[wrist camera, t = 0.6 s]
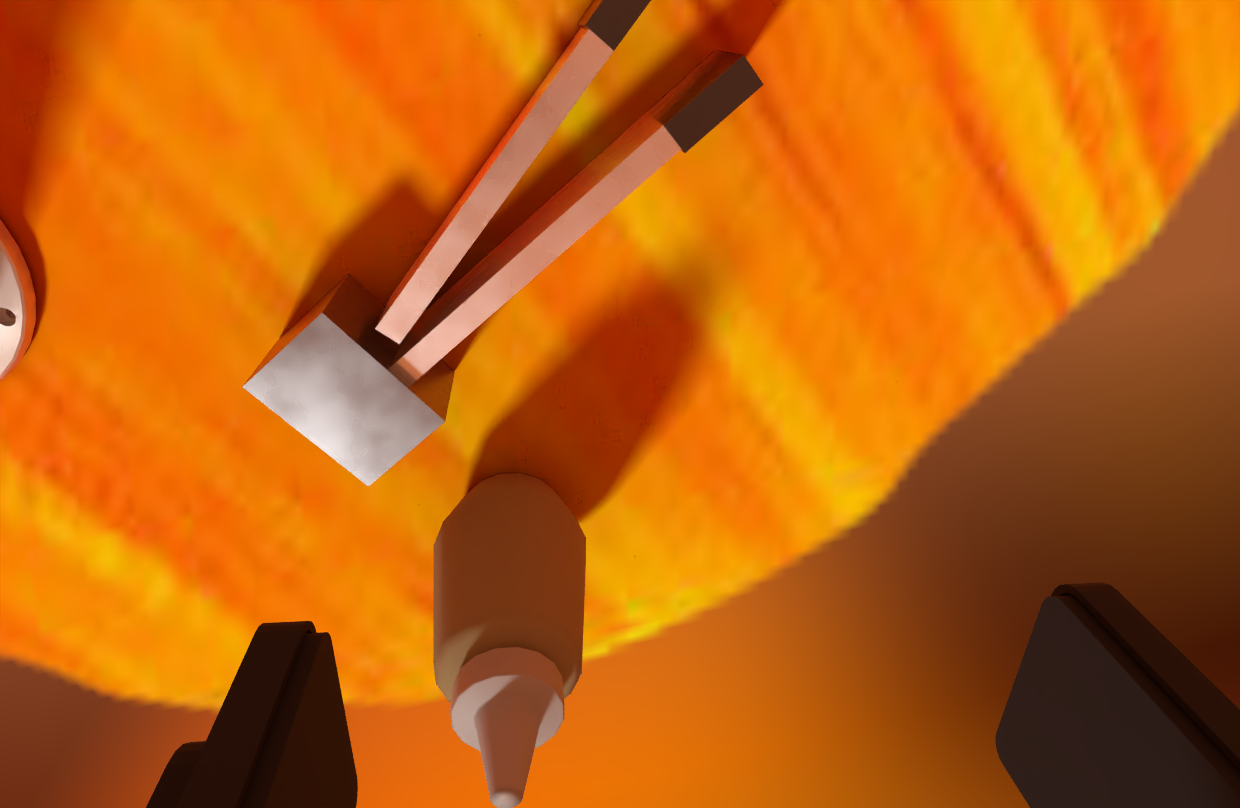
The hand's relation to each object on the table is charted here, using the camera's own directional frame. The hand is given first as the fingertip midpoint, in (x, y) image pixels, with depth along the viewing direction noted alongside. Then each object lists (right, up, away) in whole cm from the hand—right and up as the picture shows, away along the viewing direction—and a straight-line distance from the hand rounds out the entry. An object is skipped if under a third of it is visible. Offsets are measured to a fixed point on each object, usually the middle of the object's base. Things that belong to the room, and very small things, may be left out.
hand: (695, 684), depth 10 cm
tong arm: (-6, +16, +24) cm, 30 cm away
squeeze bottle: (-7, -3, +34) cm, 35 cm away
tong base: (-6, +12, +26) cm, 30 cm away
